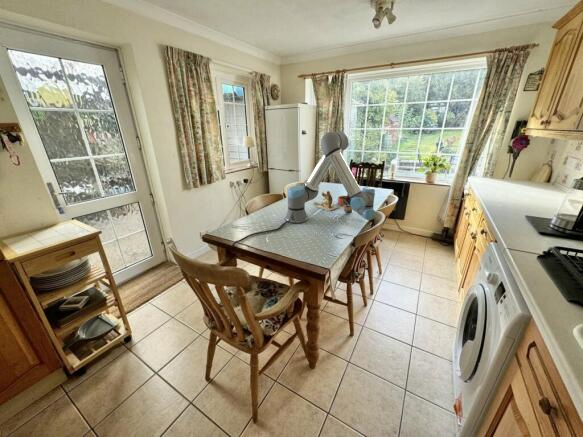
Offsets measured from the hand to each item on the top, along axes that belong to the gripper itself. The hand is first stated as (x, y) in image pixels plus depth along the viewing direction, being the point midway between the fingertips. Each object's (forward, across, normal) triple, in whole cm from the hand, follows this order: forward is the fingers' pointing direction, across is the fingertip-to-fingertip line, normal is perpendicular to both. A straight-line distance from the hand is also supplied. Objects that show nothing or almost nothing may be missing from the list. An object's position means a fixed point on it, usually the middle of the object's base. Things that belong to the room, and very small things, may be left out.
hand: (345, 197), depth 177 cm
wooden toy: (+14, -12, -11) cm, 21 cm away
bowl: (+16, +7, -10) cm, 20 cm away
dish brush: (-5, 0, -10) cm, 11 cm away
